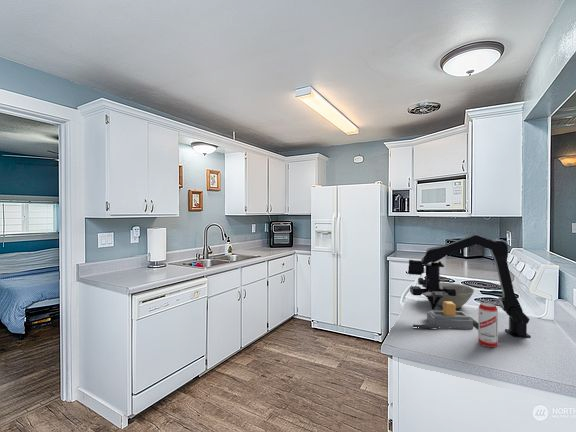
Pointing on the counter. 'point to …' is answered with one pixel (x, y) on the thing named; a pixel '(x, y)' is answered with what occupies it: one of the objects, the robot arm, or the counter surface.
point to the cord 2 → (474, 322)
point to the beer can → (488, 324)
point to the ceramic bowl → (462, 294)
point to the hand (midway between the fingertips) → (432, 309)
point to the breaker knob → (449, 308)
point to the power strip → (450, 319)
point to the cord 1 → (426, 326)
